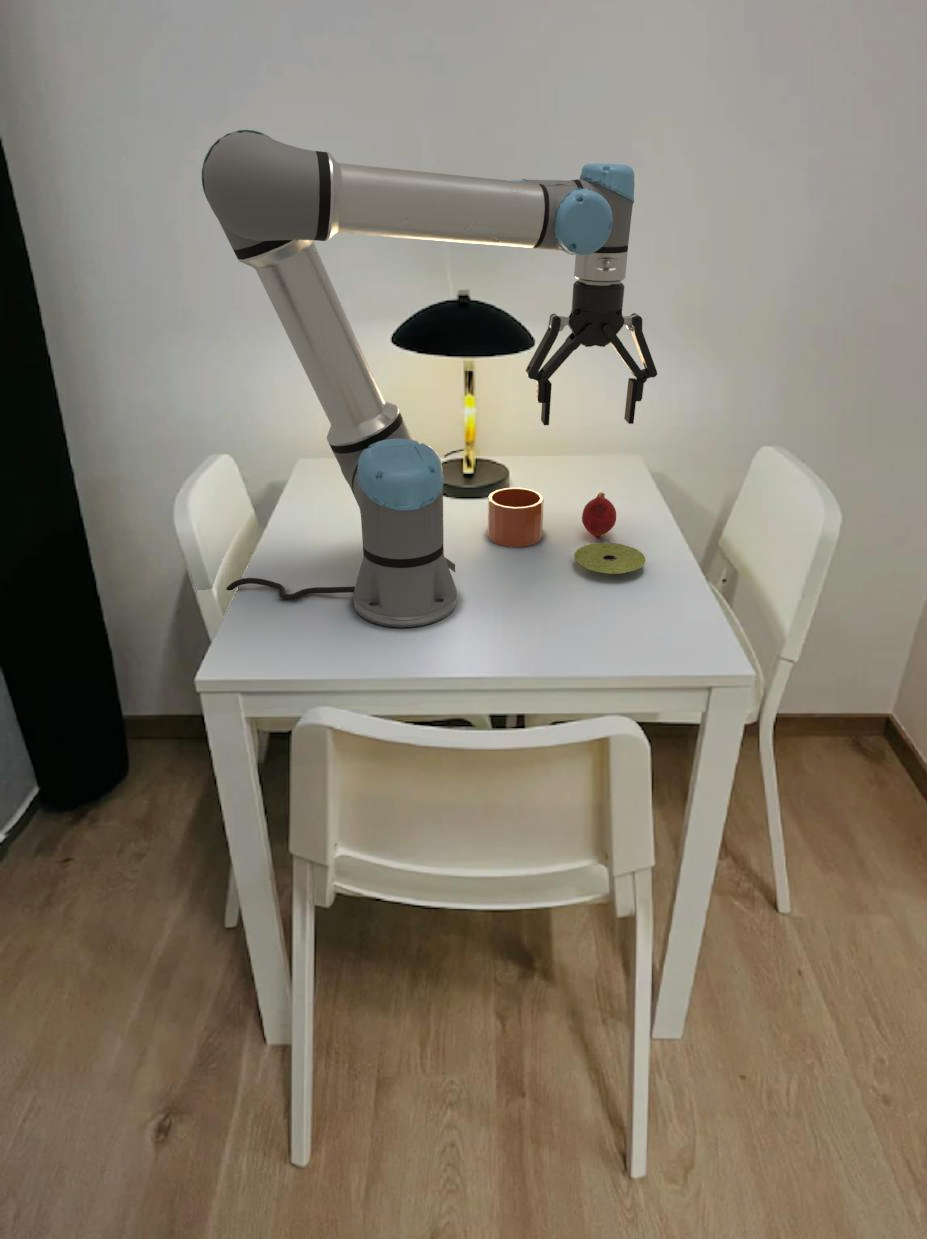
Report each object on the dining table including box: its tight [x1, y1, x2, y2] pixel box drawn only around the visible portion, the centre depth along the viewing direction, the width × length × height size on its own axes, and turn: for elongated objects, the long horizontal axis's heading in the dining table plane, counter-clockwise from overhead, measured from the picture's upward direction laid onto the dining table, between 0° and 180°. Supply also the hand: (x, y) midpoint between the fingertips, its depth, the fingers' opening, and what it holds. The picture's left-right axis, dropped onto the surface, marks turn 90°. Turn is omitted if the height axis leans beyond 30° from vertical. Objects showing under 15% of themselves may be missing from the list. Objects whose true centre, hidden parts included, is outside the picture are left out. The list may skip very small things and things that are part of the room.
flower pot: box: [487, 487, 545, 548], centre depth 155 cm, size 9×9×7 cm
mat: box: [573, 542, 646, 575], centre depth 146 cm, size 11×11×2 cm
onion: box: [581, 491, 617, 538], centre depth 155 cm, size 6×6×8 cm
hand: (587, 422), depth 145 cm, fingers open, 13 cm apart
